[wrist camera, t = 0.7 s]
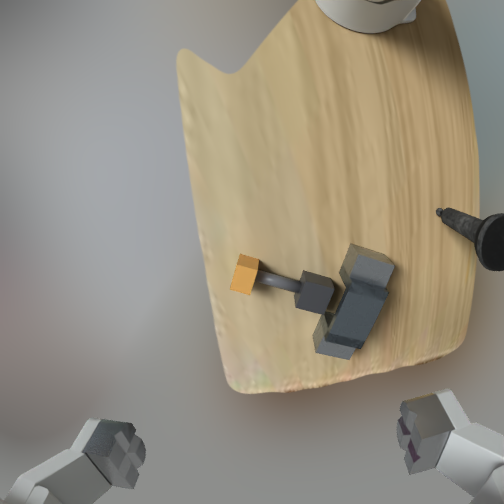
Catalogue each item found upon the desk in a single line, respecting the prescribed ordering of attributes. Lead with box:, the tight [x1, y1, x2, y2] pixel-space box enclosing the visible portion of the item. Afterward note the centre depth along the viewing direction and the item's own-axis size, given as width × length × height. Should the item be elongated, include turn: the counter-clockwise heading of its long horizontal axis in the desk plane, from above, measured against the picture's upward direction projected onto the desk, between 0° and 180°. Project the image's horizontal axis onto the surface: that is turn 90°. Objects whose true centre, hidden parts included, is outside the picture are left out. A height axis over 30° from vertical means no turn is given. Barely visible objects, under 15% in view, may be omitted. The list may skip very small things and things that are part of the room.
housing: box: [313, 243, 395, 360], centre depth 47 cm, size 17×6×7 cm, turn 164°
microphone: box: [436, 208, 504, 271], centre depth 35 cm, size 7×7×20 cm
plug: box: [230, 254, 334, 315], centre depth 47 cm, size 4×14×4 cm, turn 74°
